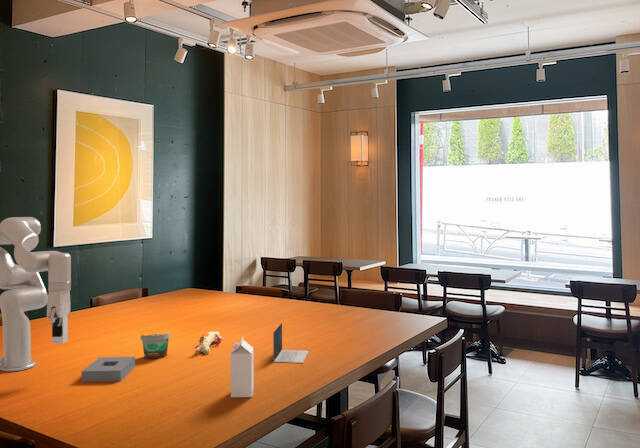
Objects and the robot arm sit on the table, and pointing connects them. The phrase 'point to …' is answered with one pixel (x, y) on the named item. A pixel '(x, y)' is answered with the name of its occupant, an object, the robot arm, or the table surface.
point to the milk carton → (242, 370)
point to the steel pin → (64, 331)
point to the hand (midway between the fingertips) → (59, 334)
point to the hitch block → (108, 369)
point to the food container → (155, 345)
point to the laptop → (285, 355)
